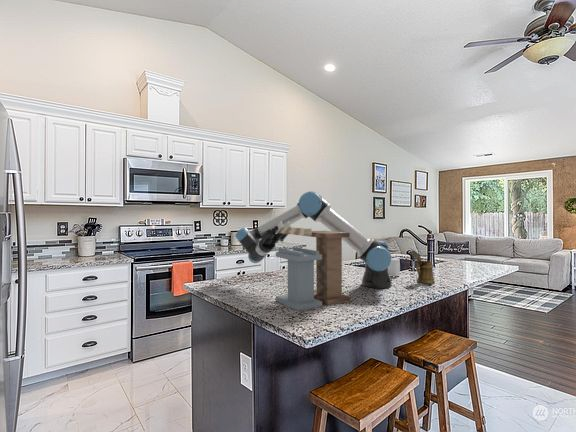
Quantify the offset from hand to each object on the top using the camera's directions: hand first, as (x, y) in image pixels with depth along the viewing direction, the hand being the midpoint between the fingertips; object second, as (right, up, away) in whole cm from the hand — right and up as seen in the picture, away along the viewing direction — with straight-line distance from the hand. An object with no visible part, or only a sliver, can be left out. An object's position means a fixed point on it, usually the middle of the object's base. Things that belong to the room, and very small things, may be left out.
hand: (285, 224), depth 151 cm
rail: (+3, -4, -4) cm, 7 cm away
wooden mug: (+75, -33, +33) cm, 88 cm away
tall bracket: (+18, -34, 0) cm, 38 cm away
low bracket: (+5, -34, -8) cm, 35 cm away
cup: (+63, -33, +51) cm, 87 cm away
